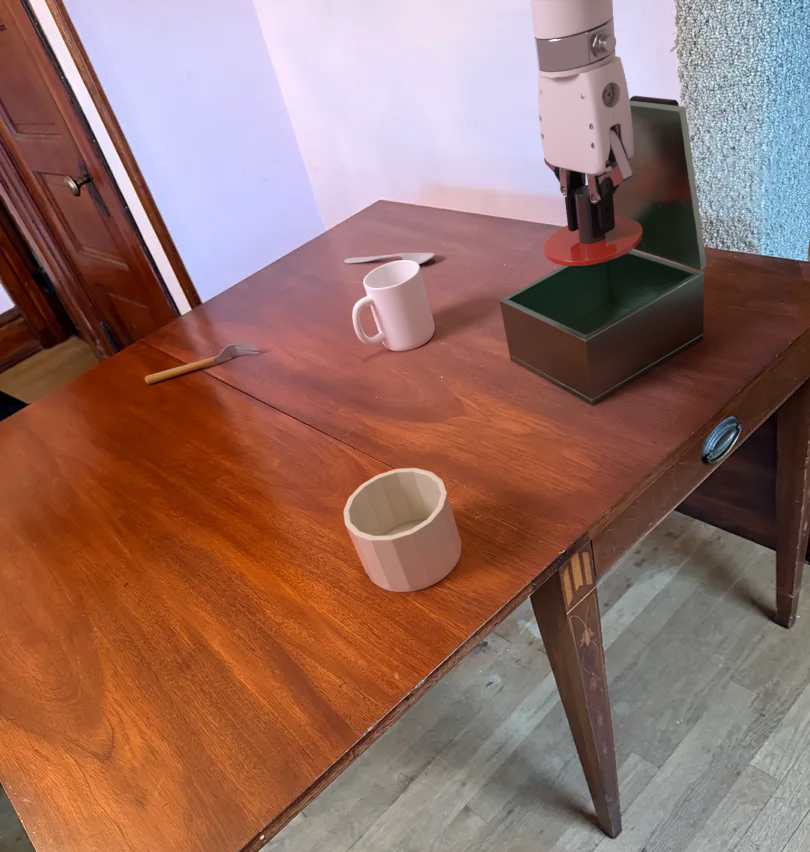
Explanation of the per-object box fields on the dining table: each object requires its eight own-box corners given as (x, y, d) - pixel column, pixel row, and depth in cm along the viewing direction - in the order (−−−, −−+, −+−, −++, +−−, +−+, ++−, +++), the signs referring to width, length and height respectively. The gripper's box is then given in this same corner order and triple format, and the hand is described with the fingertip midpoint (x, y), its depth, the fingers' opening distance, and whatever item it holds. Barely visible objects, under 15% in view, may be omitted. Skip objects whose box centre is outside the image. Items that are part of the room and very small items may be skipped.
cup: (446, 332, 110) (430, 267, 104) (379, 370, 108) (358, 306, 101) (417, 317, 116) (400, 255, 109) (352, 353, 113) (331, 291, 107)
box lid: (679, 111, 73) (715, 83, 74) (570, 98, 85) (602, 74, 86) (701, 270, 86) (732, 246, 87) (604, 240, 98) (631, 219, 99)
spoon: (429, 269, 128) (427, 260, 126) (338, 266, 139) (335, 258, 138) (442, 257, 130) (439, 248, 129) (351, 255, 141) (348, 247, 140)
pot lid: (643, 219, 89) (641, 161, 85) (642, 263, 82) (640, 201, 77) (549, 234, 93) (542, 179, 88) (540, 277, 86) (532, 219, 81)
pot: (469, 518, 80) (454, 465, 75) (451, 592, 73) (434, 538, 68) (379, 521, 84) (359, 470, 79) (354, 592, 77) (331, 541, 72)
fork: (141, 380, 122) (255, 344, 119) (142, 372, 123) (254, 336, 120) (149, 390, 124) (261, 355, 121) (150, 383, 125) (261, 347, 123)
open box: (592, 405, 89) (585, 340, 83) (510, 359, 100) (499, 300, 95) (703, 339, 92) (704, 272, 87) (611, 302, 104) (607, 241, 98)
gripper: (665, 36, 69) (668, 231, 81) (553, 32, 80) (571, 203, 93) (601, 66, 67) (615, 260, 79) (496, 58, 79) (522, 228, 91)
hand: (591, 228), depth 86 cm, fingers closed on pot lid, 3 cm apart
